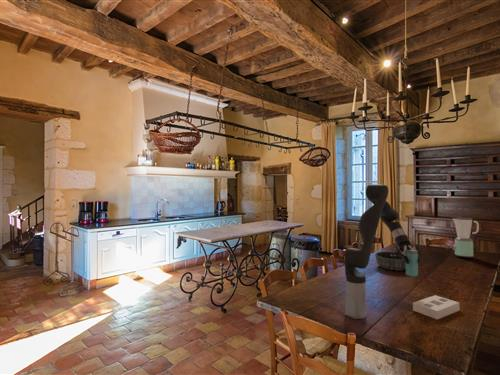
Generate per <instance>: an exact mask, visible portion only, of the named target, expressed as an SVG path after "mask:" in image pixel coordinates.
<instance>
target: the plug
mask: <svg viewBox="0 0 500 375" xmlns="http://www.w3.org/2000/svg"><path fill="white" fill-rule="evenodd" d="M405 254H406V256H407V258H408V260H409V264H406V270H405V275H406V276H410V277H412V278H413V277H418V276H419V263H418V250H412V249H408V250H405Z"/></svg>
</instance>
